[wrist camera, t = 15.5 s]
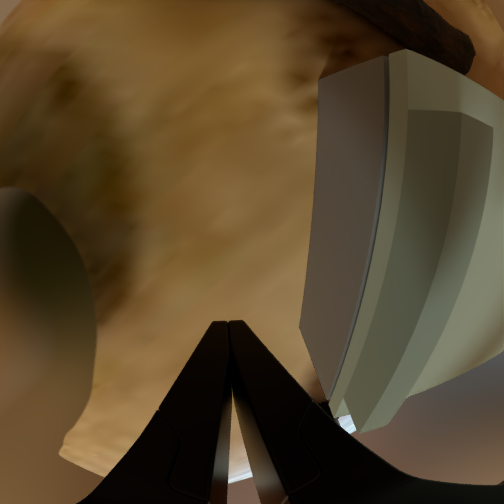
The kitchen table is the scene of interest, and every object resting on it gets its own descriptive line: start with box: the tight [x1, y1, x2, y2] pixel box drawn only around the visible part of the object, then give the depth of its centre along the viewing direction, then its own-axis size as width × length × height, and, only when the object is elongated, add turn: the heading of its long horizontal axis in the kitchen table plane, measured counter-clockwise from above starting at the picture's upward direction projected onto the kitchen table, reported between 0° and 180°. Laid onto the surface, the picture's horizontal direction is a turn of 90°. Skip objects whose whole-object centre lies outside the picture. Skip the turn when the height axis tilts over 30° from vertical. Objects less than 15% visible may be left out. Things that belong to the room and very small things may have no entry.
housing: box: [299, 55, 390, 400], centre depth 14 cm, size 16×16×6 cm
